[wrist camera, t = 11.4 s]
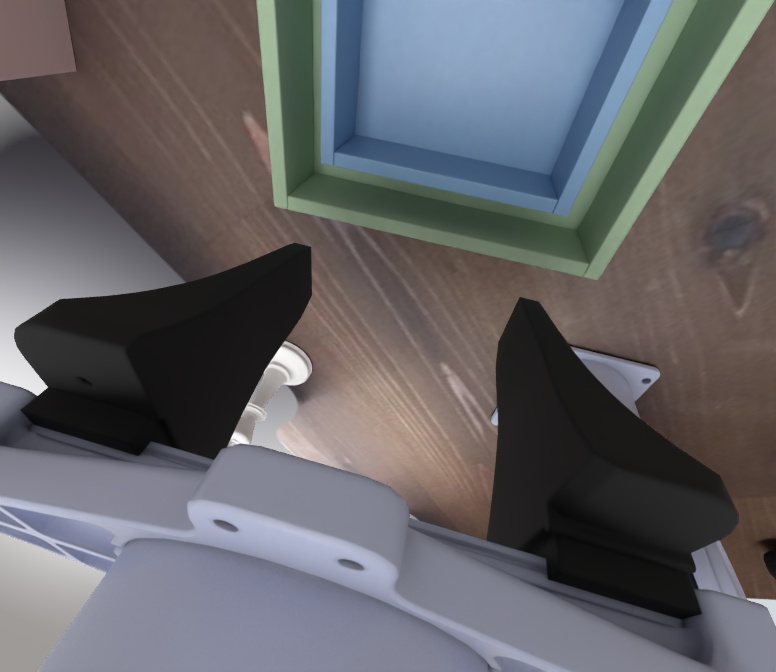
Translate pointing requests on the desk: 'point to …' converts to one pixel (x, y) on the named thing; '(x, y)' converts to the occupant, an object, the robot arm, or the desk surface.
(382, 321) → the desk surface
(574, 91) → the blue bin
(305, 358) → the chess piece
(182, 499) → the robot arm
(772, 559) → the tape measure
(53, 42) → the greeting card
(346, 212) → the big bin
